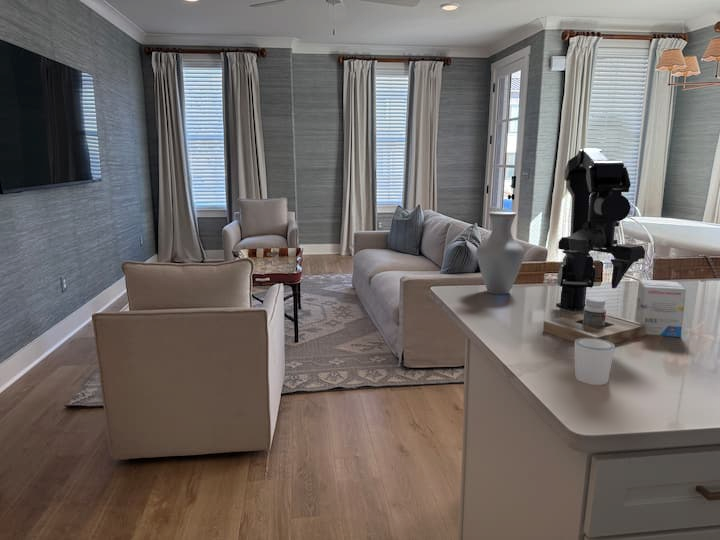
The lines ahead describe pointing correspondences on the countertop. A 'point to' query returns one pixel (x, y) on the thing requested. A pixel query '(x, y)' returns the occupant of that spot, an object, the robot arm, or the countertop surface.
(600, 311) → the pill bottle
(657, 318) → the ink box
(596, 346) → the white short tapered cylinder
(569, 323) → the walnut jig
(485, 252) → the vase
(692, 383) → the countertop surface
